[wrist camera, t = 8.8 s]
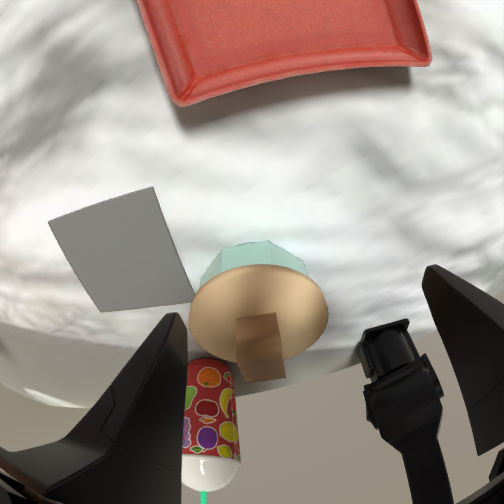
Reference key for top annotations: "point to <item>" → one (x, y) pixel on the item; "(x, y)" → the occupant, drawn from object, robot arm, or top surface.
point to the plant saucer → (276, 40)
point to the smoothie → (209, 428)
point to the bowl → (252, 258)
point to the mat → (124, 253)
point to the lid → (258, 318)
